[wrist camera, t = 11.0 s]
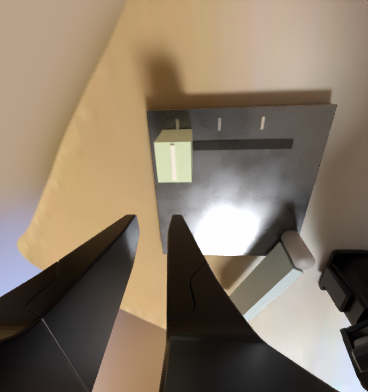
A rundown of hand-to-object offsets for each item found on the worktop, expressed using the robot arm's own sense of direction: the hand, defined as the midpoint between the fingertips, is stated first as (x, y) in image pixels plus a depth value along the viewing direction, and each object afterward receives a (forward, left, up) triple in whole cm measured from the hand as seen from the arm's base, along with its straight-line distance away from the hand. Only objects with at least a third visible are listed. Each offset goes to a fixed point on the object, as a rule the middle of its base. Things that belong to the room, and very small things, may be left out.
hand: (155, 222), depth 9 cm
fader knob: (0, 0, -11) cm, 11 cm away
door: (-9, +15, -11) cm, 21 cm away
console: (-5, +5, -12) cm, 14 cm away
